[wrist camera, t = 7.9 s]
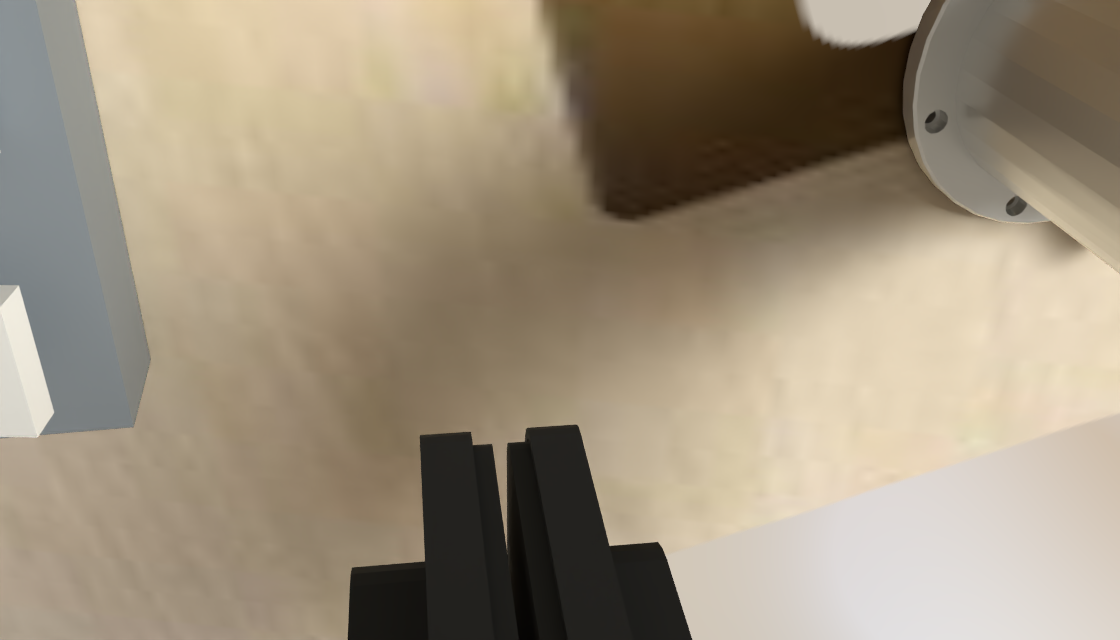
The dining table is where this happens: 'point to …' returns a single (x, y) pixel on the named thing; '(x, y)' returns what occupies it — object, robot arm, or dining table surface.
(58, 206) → the console
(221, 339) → the dining table surface
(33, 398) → the switch
